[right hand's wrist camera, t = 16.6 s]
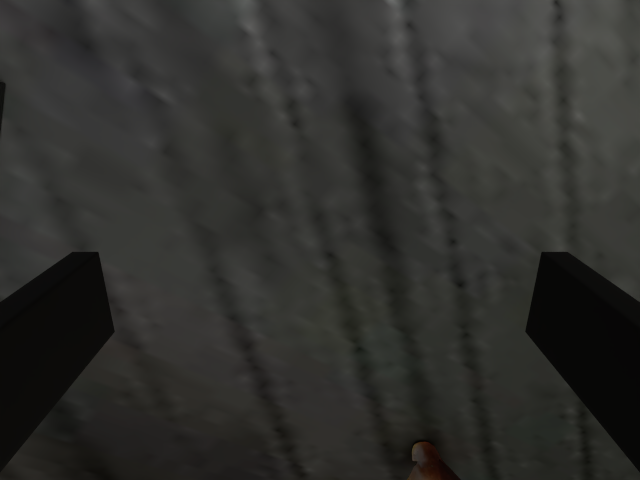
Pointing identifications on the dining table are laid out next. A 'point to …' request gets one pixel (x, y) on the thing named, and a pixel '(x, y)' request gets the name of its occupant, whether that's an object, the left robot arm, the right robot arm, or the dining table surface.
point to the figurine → (429, 464)
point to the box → (1, 99)
